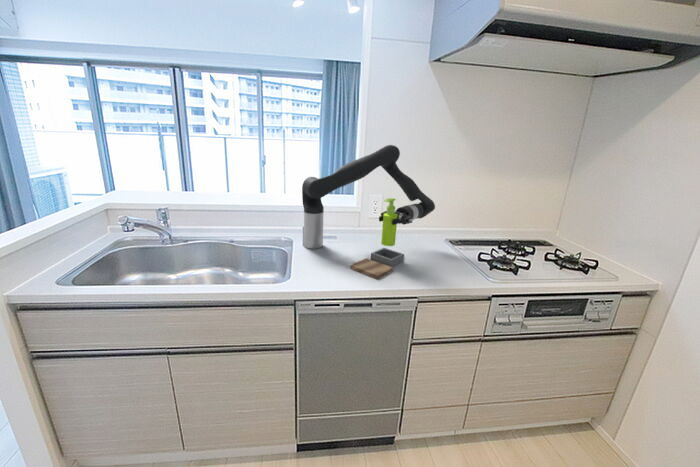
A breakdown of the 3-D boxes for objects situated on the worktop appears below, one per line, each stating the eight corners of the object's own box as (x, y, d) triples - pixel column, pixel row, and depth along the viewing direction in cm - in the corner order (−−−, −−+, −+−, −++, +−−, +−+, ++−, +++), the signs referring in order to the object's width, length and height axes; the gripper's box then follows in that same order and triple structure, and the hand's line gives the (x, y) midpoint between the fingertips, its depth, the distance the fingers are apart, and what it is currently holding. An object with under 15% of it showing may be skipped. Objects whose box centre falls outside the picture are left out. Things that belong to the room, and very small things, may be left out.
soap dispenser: (377, 244, 137) (380, 198, 130) (386, 240, 142) (390, 196, 135) (388, 247, 133) (391, 201, 127) (397, 244, 138) (401, 198, 132)
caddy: (370, 261, 140) (370, 253, 139) (383, 255, 147) (383, 247, 146) (391, 269, 133) (391, 260, 132) (403, 262, 141) (404, 254, 140)
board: (350, 268, 132) (350, 265, 132) (366, 261, 140) (366, 258, 140) (377, 279, 124) (377, 275, 123) (392, 270, 132) (393, 267, 131)
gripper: (394, 203, 147) (372, 208, 135) (422, 208, 139) (401, 215, 126) (392, 218, 150) (371, 225, 137) (420, 225, 141) (400, 233, 129)
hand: (386, 220), depth 132 cm, fingers closed on soap dispenser, 6 cm apart
